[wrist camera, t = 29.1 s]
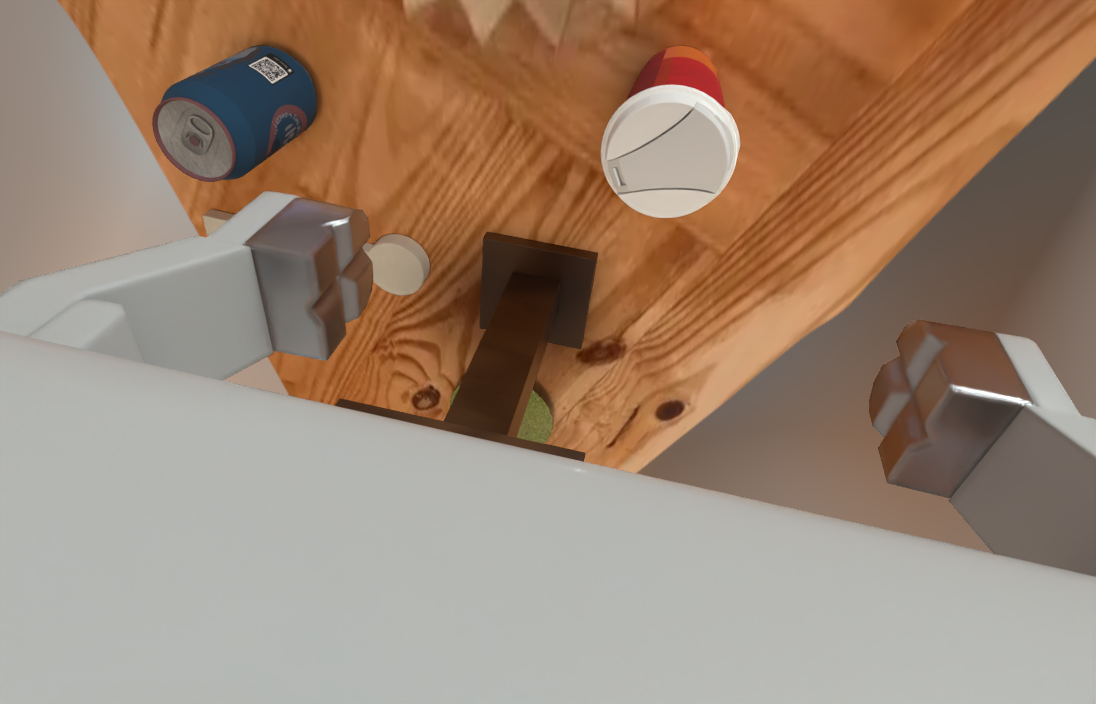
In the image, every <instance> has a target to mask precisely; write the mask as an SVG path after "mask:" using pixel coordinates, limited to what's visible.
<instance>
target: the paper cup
mask: <svg viewBox="0 0 1096 704" xmlns="http://www.w3.org/2000/svg"><path fill="white" fill-rule="evenodd" d="M739 148H740V138H739V132H738V129H737V126H736V123H735V121H734V119H733V117H732V115H731V114H730V113H729V112H728V111H727V110H726V109H725V106H724V101H723V96H722V92H721V87H720V83H719V79H718V76H717V72H716V70H715V68H714V65H713V64H712V62H711V61H710V59H709V58H708V57H707V56H706V55H705V54H704V53H702V52H701V51H699V50H697V49H695V48H692V47H689V46H673V47H669V48H667V49H664V50H662V51H660V52H659V53H657V54H656V55H655V56H653V57H652V58H651V59H650V61H649V62H648V63H647V64H646V66H645V67H644V69H643V70H642V72H641V74H640V75H639V77H638V79H637V81H636V83H635V84H634V86H633V88H632V90H631V92H630V94H629V96H628V98H627V100H626V102H624V103H623V104H622V105H621V106H620V107H619V108H618V109H617V111H616V112H615V113H614V114H613V116H612V117H611V119H610V121H609V122H608V124H607V127H606V129H605V132H604V135H603V139H602V143H601V162H602V167H603V171H604V174H605V176H606V179H607V181H608V183H609V184H610V186H611V188H612V189H613V191H614V192H615V193H616V194H617V195H618V196H619V197H620V198H621V199H622V201H623V202H625V203H626V204H627V205H628V206H629V207H631V208H633V209H634V210H636V211H638V212H640V213H642V214H645V215H648V216H652V217H658V218H674V217H680V216H684V215H687V214H690V213H692V212H694V211H696V210H698V209H700V208H702V207H703V206H705V205H706V204H708V203H709V202H711V201H712V200H713V199H714V198H715V197H716V196H717V195H719V194H720V192H721V191H722V190H723V189H724V187H725V186H726V185H727V183H728V181H729V180H730V178H731V176H732V174H733V171H734V168H735V165H736V160H737V156H738V152H739Z"/></svg>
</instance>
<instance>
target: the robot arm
mask: <svg viewBox="0 0 1096 704" xmlns="http://www.w3.org/2000/svg"><path fill="white" fill-rule="evenodd" d="M369 238H370V230H369V222H368V217H367V216H366V214H365V213H364V211H363V210H359V209H355V208H350V207H346V206H341V205H336V204H332V203H327V202H322V201H318V200H313V199H309V198H304V197H302V198H301V197H299V196H296V195H291V194H285V193H279V192H272V191H264V192H263V193H262V194H261V195H259V196H258V197H257V198H256V199H254V200H253V201H252V202H251V203H249V204H248V205H247V206H246V207H244V208H243V209H242V210H241V211H239V212H238V213H237V214H235V215H234V216H233V217H232V218H230V219H229V220H228V221H227V222H225V223H224V224H223V225H222V226H220V227H219V228H218V229H217V230H215V231H214V232H213V233H212V234H210V235H209V236H208V237H207V238H205V237H200V236H194V237H190V238H186V239H182V240H178V241H174V242H170V243H166V244H162V245H158V246H154V247H151V248H147V249H143V250H138V251H135V252H131V253H127V254H123V255H119V256H115V257H111V258H107V259H103V260H99V261H95V262H91V263H88V264H83V265H80V266H76V267H72V268H68V269H64V270H60V271H56V272H52V273H48V274H44V275H40V276H36V277H32V278H28V279H24V280H21V281H19V282H18V283H16V284H14V285H13V286H12V287H10V288H9V289H7V290H5V291H4V292H2V293H1V294H0V704H1096V420H1095V419H1093V418H1088V417H1084V416H1081V415H1080V414H1079V412H1078V411H1077V409H1076V407H1075V406H1074V404H1073V403H1072V401H1071V399H1070V398H1069V396H1068V394H1067V393H1066V391H1065V390H1064V388H1063V386H1062V385H1061V383H1060V382H1059V380H1058V379H1057V377H1056V376H1055V373H1054V372H1053V370H1052V369H1051V367H1050V365H1049V364H1048V362H1047V361H1046V359H1045V357H1044V356H1043V354H1042V352H1041V351H1040V349H1039V348H1038V346H1037V345H1036V343H1035V342H1033V341H1031V340H1030V339H1028V338H1026V337H1019V336H1013V335H1007V334H1001V333H994V332H988V331H983V330H976V329H971V328H965V327H959V326H954V325H947V324H942V323H936V322H930V321H924V320H916V319H913V320H912V321H911V322H910V323H909V324H908V325H907V326H906V327H905V328H904V329H903V331H902V333H901V334H900V336H899V338H898V339H897V341H896V342H897V346H898V349H899V352H900V356H899V357H897V358H895V359H893V360H891V361H889V362H887V363H886V364H884V365H883V366H882V367H881V369H880V371H879V373H878V375H877V377H876V379H875V381H874V383H873V387H872V391H871V395H870V399H869V413H870V418H871V421H872V426H873V427H874V428H875V429H876V430H877V431H878V432H879V433H880V434H881V435H882V436H883V437H884V439H883V441H882V442H881V444H880V446H879V447H878V450H879V454H880V458H881V461H882V465H883V469H884V473H885V476H886V480H887V483H889V484H894V485H897V486H901V487H906V488H910V489H914V490H918V491H922V492H926V493H930V494H935V495H938V496H943V497H947V498H950V499H949V502H950V503H951V504H952V505H953V506H954V508H955V509H956V510H957V511H958V512H959V514H960V515H961V516H962V517H963V518H964V519H965V521H966V522H967V523H968V524H969V525H970V526H971V528H972V529H973V530H974V531H975V532H976V534H977V535H978V536H979V537H980V538H981V539H982V540H983V542H984V543H985V544H986V545H987V547H989V549H990V550H991V551H992V552H993V553H988V552H984V551H980V550H975V549H970V548H966V547H962V546H957V545H953V544H948V543H944V542H939V541H935V540H930V539H925V538H921V537H916V536H913V535H908V534H903V533H899V532H895V531H890V530H886V529H881V528H877V527H872V526H868V525H863V524H859V523H855V522H850V521H846V520H841V519H836V518H832V517H828V516H823V515H819V514H814V513H810V512H805V511H801V510H796V509H792V508H788V507H783V506H779V505H774V504H770V503H765V502H760V501H756V500H752V499H748V498H743V497H738V496H734V495H730V494H725V493H721V492H716V491H712V490H707V489H703V488H698V487H694V486H690V485H685V484H680V483H676V482H672V481H667V480H663V479H658V478H653V477H649V476H645V475H641V474H636V473H632V472H627V471H623V470H618V469H614V468H609V467H605V466H600V465H596V464H592V463H587V462H583V461H578V460H574V459H569V458H565V457H560V456H556V455H551V454H547V453H543V452H538V451H534V450H529V449H525V448H520V447H516V446H511V445H507V444H502V443H498V442H494V441H489V440H485V439H480V438H476V437H471V436H467V435H462V434H458V433H453V432H449V431H445V430H440V429H436V428H431V427H427V426H422V425H418V424H413V423H409V422H405V421H400V420H396V419H391V418H387V417H382V416H378V415H373V414H369V413H364V412H360V411H356V410H351V409H347V408H342V407H338V406H333V405H329V404H324V403H320V402H315V401H311V400H307V399H302V398H298V397H293V396H289V395H284V394H280V393H275V392H271V391H266V390H262V389H257V388H253V387H249V386H244V385H240V384H235V383H231V382H226V381H223V380H224V379H226V378H228V377H230V376H232V375H234V374H236V373H238V372H239V371H241V370H243V369H245V368H247V367H249V366H251V365H253V364H254V363H256V362H258V361H260V360H262V359H264V358H266V357H268V356H269V355H271V354H273V351H278V352H283V353H289V354H294V355H299V356H304V357H310V358H315V359H320V360H325V361H327V360H328V359H329V357H330V356H331V354H332V353H333V352H334V350H335V349H336V348H337V346H338V345H339V344H340V342H341V341H342V340H343V338H344V337H345V336H346V327H345V323H346V322H349V321H351V320H354V319H356V318H358V317H359V316H360V315H361V313H362V312H363V311H364V309H365V308H366V306H367V303H368V300H369V297H370V294H371V291H372V284H373V263H372V261H371V259H370V258H369V256H368V255H367V254H366V252H365V251H364V250H363V248H362V247H363V245H364V244H365V243H366V242H367V241H368V239H369Z"/></svg>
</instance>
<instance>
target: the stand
mask: <svg viewBox="0 0 1096 704" xmlns="http://www.w3.org/2000/svg"><path fill="white" fill-rule="evenodd" d="M597 258H598V253H594V252H589V251H584V250H579V249H573V248H568V247H563V246H558V245H553V244H548V243H542V242H537V241H532V240H527V239H522V238H517V237H511V236H506V235H501V234H496V233H491V232H487V233H486V235H485V236H484V238H483V261H482V285H481V308H480V328H481V329H486V330H485V333H484V335H483V337H482V339H481V341H480V343H479V346H478V348H477V350H476V352H475V354H474V356H473V359H472V361H471V363H470V365H469V367H468V369H467V372H466V374H465V376H464V378H463V380H462V383H461V385H460V387H459V389H458V391H457V393H456V396H455V398H454V400H453V402H452V404H451V406H450V409H449V411H448V413H447V415H446V417H445V419H444V421H440V420H435V419H431V418H426V417H422V416H417V415H413V414H408V413H404V412H399V411H395V410H390V409H386V408H381V407H377V406H372V405H367V404H363V403H358V402H354V401H349V400H345V399H339V400H338V402H337V403H336V405H335V406H338V407H342V408H347V409H351V410H356V411H360V412H364V413H369V414H373V415H378V416H382V417H387V418H391V419H396V420H400V421H405V422H409V423H413V424H418V425H422V426H427V427H431V428H436V429H440V430H445V431H449V432H453V433H458V434H462V435H467V436H471V437H476V438H480V439H485V440H489V441H494V442H498V443H502V444H507V445H511V446H516V447H520V448H525V449H529V450H534V451H538V452H543V453H547V454H551V455H556V456H560V457H565V458H569V459H574V460H578V461H583V462H584V458H585V453H584V452H579V451H575V450H570V449H566V448H561V447H557V446H552V445H548V444H543V443H539V442H534V441H530V440H525V439H521V438H517V435H518V432H519V429H520V426H521V423H522V420H523V417H524V414H525V411H526V408H527V405H528V402H529V398H530V395H531V392H532V389H533V386H534V383H535V380H536V377H537V374H538V371H539V368H540V365H541V362H542V359H543V356H544V353H545V350H546V347H547V344H548V343H553V344H558V345H563V346H568V347H572V348H577V349H581V347H582V343H583V338H584V333H585V327H586V321H587V315H588V310H589V304H590V298H591V292H592V286H593V281H594V275H595V269H596V263H597Z"/></svg>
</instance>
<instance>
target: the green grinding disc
mask: <svg viewBox="0 0 1096 704" xmlns="http://www.w3.org/2000/svg"><path fill="white" fill-rule="evenodd" d="M460 385H461V384H460ZM460 385H459V386H458V387H457V388H456V390H455V391H454V392H453V394H452V396H451V400H450V406H451V404H452V402H453V400H454V398H455V396H456V393H457V391H458V389H459V387H460ZM552 421H553V419H552V415H551V413H550V410H549V407H548V406H547V404H546V402H544V400H543V399H542V398H541V397H540V396H539V395H538V394H537V393H535V392H534V391H533V390H532V392H531V395H530V398H529V402H528V405H527V408H526V411H525V414H524V417H523V420H522V423H521V426H520V429H519V432H518V435H517V438H521V439H525V440H530V441H534V442H539V443H543V444H544V442H546V441H547V440H548V438H549V436H550V435H551V431H552V429H553V426H552V425H553V422H552Z"/></svg>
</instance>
